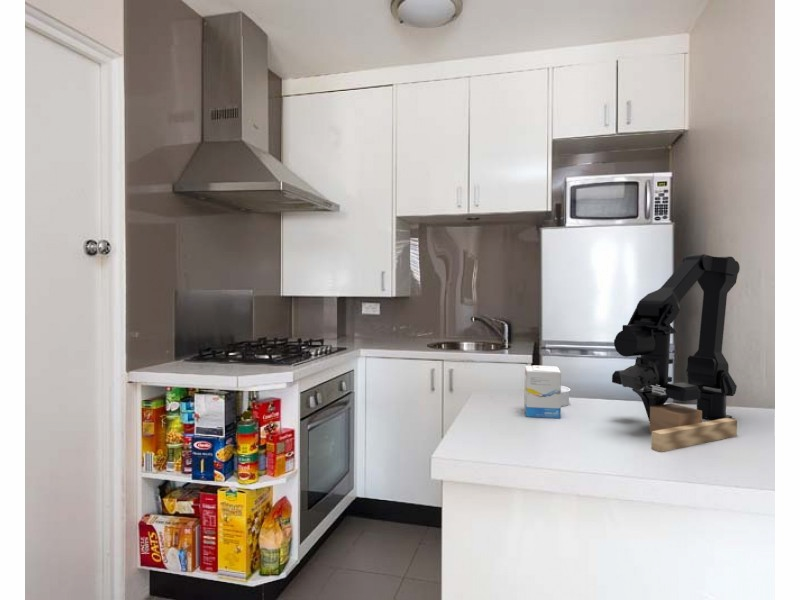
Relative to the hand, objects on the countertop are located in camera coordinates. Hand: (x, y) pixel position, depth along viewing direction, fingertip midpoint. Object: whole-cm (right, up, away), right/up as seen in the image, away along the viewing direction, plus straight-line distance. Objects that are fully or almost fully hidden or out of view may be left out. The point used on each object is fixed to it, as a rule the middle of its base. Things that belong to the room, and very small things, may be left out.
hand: (651, 421), depth 110 cm
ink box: (-21, -1, +13) cm, 25 cm away
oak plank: (+4, -2, -9) cm, 10 cm away
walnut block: (+2, -2, -5) cm, 6 cm away
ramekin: (-15, -1, +24) cm, 28 cm away
